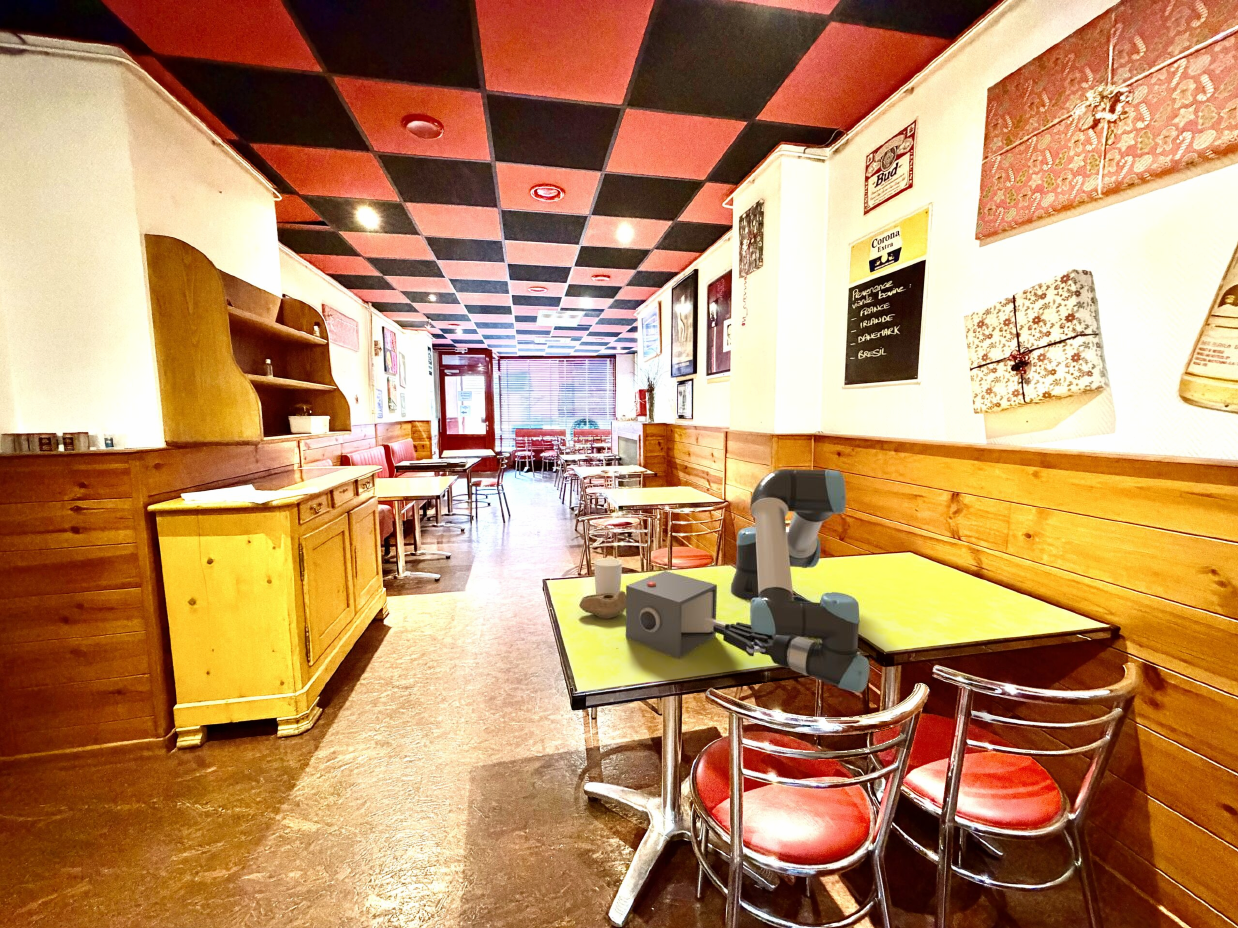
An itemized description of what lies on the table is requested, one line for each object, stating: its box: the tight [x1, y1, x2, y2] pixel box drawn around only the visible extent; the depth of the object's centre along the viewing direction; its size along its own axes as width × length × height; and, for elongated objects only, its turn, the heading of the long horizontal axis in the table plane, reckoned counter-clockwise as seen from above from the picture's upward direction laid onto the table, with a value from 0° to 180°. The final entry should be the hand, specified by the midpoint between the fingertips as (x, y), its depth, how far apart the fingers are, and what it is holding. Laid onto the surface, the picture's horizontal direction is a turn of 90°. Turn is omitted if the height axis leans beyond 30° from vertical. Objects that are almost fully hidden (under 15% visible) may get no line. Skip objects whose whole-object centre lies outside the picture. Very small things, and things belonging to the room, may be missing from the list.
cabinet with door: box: [625, 570, 718, 660], centre depth 134 cm, size 20×18×16 cm
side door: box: [681, 591, 713, 632], centre depth 134 cm, size 15×1×12 cm, turn 91°
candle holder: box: [593, 557, 623, 595], centre depth 167 cm, size 10×10×12 cm
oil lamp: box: [578, 590, 626, 620], centre depth 150 cm, size 11×15×8 cm
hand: (705, 622), depth 127 cm, fingers closed
